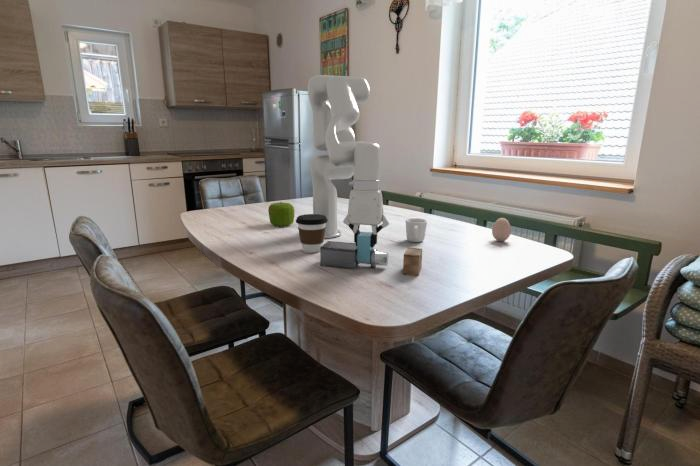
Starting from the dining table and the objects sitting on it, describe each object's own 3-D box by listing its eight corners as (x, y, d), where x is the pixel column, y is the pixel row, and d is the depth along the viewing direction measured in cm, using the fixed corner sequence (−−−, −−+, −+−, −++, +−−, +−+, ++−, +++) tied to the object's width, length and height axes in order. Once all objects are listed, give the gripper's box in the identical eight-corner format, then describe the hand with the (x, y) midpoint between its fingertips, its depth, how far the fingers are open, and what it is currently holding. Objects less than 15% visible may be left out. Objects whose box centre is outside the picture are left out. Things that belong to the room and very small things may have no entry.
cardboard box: (402, 274, 117) (403, 254, 115) (406, 266, 124) (407, 247, 122) (418, 275, 115) (419, 256, 114) (421, 267, 122) (422, 248, 121)
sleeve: (320, 266, 123) (320, 247, 122) (328, 258, 131) (328, 241, 129) (354, 269, 120) (354, 250, 119) (361, 261, 128) (361, 243, 126)
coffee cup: (303, 256, 132) (302, 221, 129) (292, 248, 142) (291, 215, 139) (333, 252, 137) (332, 218, 134) (320, 244, 147) (320, 212, 144)
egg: (488, 241, 152) (490, 218, 150) (495, 238, 157) (497, 215, 154) (505, 244, 147) (507, 220, 145) (512, 241, 152) (514, 217, 150)
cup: (425, 246, 145) (426, 224, 143) (403, 245, 147) (404, 223, 145) (426, 238, 155) (427, 218, 153) (405, 237, 157) (406, 217, 155)
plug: (324, 265, 124) (324, 233, 122) (330, 259, 129) (330, 229, 127) (385, 271, 119) (385, 237, 116) (388, 265, 124) (389, 233, 122)
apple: (299, 224, 178) (298, 200, 175) (283, 229, 169) (282, 204, 167) (280, 221, 184) (279, 198, 181) (264, 226, 175) (262, 201, 172)
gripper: (335, 186, 116) (335, 246, 121) (392, 188, 111) (390, 251, 116) (342, 183, 123) (342, 240, 128) (396, 185, 118) (394, 244, 123)
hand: (365, 245), depth 122 cm, fingers closed on plug, 4 cm apart
